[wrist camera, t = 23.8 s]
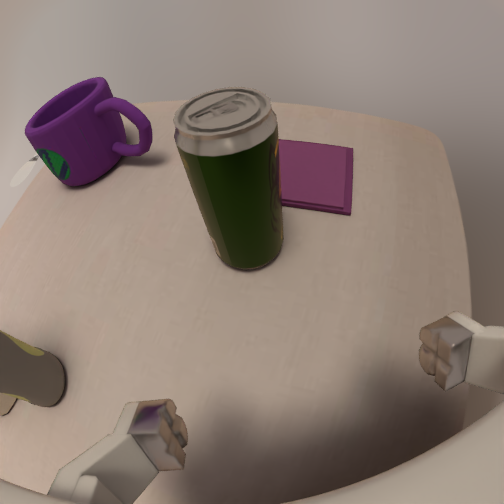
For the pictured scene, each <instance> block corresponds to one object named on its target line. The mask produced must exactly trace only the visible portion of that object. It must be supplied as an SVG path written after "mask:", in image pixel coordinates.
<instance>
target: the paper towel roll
mask: <svg viewBox="0 0 504 504" xmlns="http://www.w3.org/2000/svg"><path fill="white" fill-rule="evenodd" d="M16 399H17V398H15V397H12V396H9V395H6V394H3V393H0V415H4V414H7V413H8V411H9V410H10V408H11V407H12V405H13V404H14V402H15V400H16Z"/></svg>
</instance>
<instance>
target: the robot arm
mask: <svg viewBox="0 0 504 504" xmlns="http://www.w3.org/2000/svg"><path fill="white" fill-rule="evenodd" d="M419 339H420V340H421V342H422V343H423V344H422V345H421V347H420V349H419V361H420V364H421V367H422V368H423V370H424V371H425V372H426V373H427V374H428V375H432V376H435V382H436V383H437V384H438V385H439V386H440V387H441V388H442V389H443V390H444V391H445V392H446V391H448V390H449V389H451V388H453V387H455V386H457V385H458V384H460V383H462V382H464V381H465V383H468V384H472V385H475V386H478V387H481V388H485V389H488V390H491V391H495V392H498V393H502V394H504V327H500V326H487V327H484V326H482V325H481V324H479V323H477V322H475V321H474V320H472V319H471V318H469V317H467V316H466V315H464V314H462V313H460V312H459V311H454V312H452V313H450V314H448V315H446V316H444V317H443V318H441V319H439V320H437V321H435V322H433V323H431V324H429V325H427V326H424V327H422V328H421V330H420V335H419ZM176 409H177V408H176V406H175V404H174V402H173V401H172V400H171V399H160V400H149V401H138V402H128V403H127V404H125V406H124V408H123V411H122V413H121V415H120V417H119V420H118V422H117V424H116V427H115V429H114V431H113V433H112V434H108V435H107V436H105V437H104V438H103V439H101V440H100V441H99V442H97V443H96V444H95V445H93V446H92V447H90V448H89V449H88V450H86V451H85V452H84V453H82V454H81V455H79V456H78V457H77V458H75V459H74V460H72V461H71V462H69V463H68V464H67V465H65V466H64V467H62V468H61V469H59V471H58V473H57V475H56V477H55V479H54V481H53V483H52V485H51V487H50V490H49V492H48V494H47V495H45V494H42V493H39V492H35V491H32V490H29V489H26V488H24V487H21V486H18V485H15V484H13V483H10V482H8V481H5V480H3V479H0V504H133V503H134V501H135V500H136V499H137V498H138V497H139V496H140V494H141V493H142V492H143V491H144V490H145V489H146V487H147V486H148V485H149V484H150V483H151V482H152V480H153V479H154V478H155V477H156V476H157V474H158V473H159V471H170V470H183V469H184V464H185V457H186V454H185V452H184V450H183V448H184V447H185V446H186V445H187V442H188V433H187V428H186V425H185V422H184V421H183V419H182V417H180V416H178V415H177V414H176ZM282 504H504V400H503V401H502V402H501V403H500V404H498V405H497V406H496V407H495V408H493V409H492V410H491V411H489V412H488V413H486V414H485V415H484V416H483V417H481V418H480V419H478V420H477V421H475V422H474V423H472V424H471V425H470V426H468V427H467V428H465V429H463V430H462V431H460V432H459V433H457V434H456V435H454V436H452V437H451V438H449V439H448V440H446V441H444V442H443V443H441V444H439V445H437V446H436V447H434V448H432V449H430V450H428V451H427V452H425V453H423V454H421V455H419V456H417V457H415V458H413V459H411V460H409V461H407V462H405V463H403V464H401V465H399V466H396V467H394V468H392V469H390V470H387V471H385V472H383V473H380V474H378V475H375V476H373V477H370V478H368V479H365V480H363V481H360V482H357V483H354V484H352V485H349V486H346V487H343V488H340V489H336V490H333V491H330V492H327V493H323V494H320V495H316V496H312V497H308V498H304V499H300V500H296V501H291V502H287V503H282Z"/></svg>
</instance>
